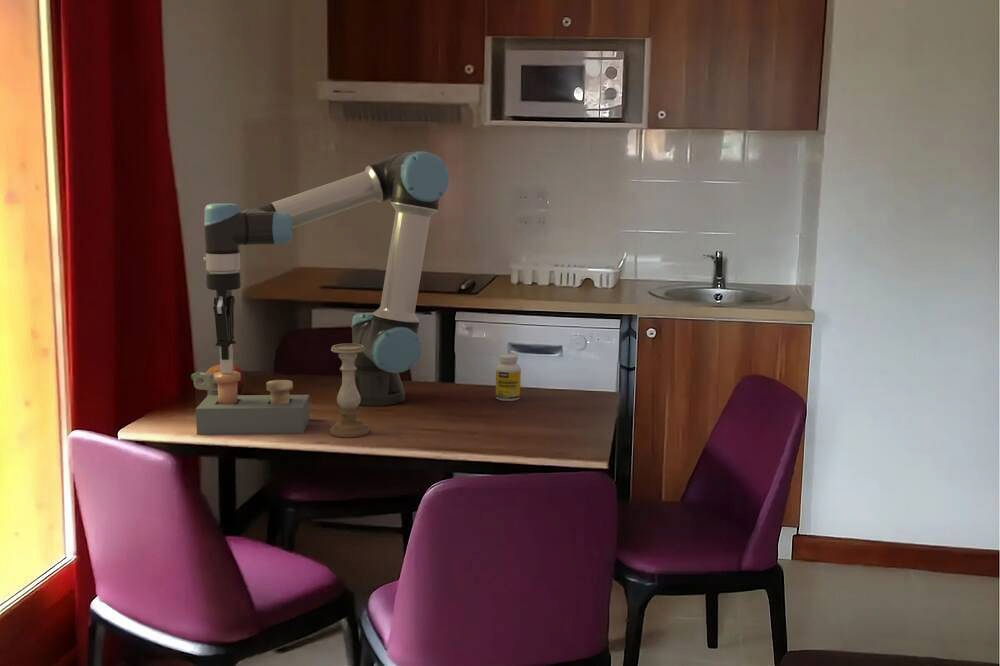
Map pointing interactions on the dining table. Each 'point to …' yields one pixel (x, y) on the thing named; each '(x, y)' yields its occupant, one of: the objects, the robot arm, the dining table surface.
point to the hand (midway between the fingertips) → (226, 372)
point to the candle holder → (348, 394)
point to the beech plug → (279, 391)
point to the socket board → (252, 415)
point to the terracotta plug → (227, 387)
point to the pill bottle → (508, 378)
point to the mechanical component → (205, 382)
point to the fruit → (239, 383)
